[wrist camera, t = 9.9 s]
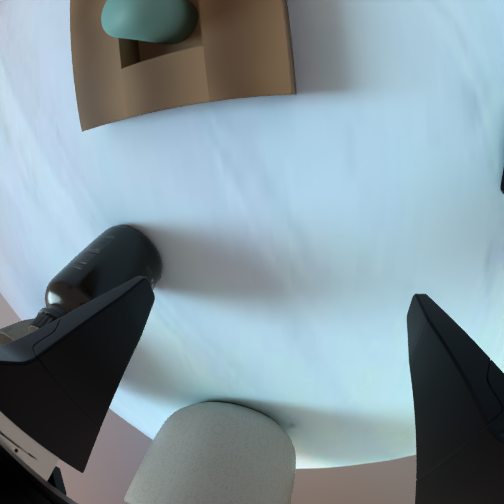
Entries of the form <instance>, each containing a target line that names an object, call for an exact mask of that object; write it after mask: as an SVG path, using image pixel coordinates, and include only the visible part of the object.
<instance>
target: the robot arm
mask: <svg viewBox="0 0 504 504" xmlns="http://www.w3.org/2000/svg"><path fill="white" fill-rule="evenodd" d="M501 192H502V193H503V194H504V169H503V176H502V182H501ZM154 299H155V296H154V292H153V290H152V287H151V284H150V281H149V279H148V278H147V277H140V276H138V277H135V278H133V279H131V280H129V281H127V282H126V283H124V284H122V285H120V286H118V287H116V288H114V289H112V290H110V291H108V292H106V293H105V294H103V295H101V296H99V297H97V298H95V299H93V300H91V301H90V302H88V303H86V304H84V305H82V306H80V307H78V308H77V309H75V310H73V311H71V312H69V313H67V314H66V315H64V316H62V317H60V318H58V319H56V320H55V321H53V322H51V323H49V324H47V325H45V326H43V327H41V328H39V329H37V330H35V331H33V332H31V333H29V334H27V335H25V336H23V337H21V338H19V339H17V340H15V341H13V342H10V343H8V344H3V345H0V504H77V503H76V502H74V501H73V500H72V499H70V498H68V497H67V496H66V490H65V487H64V483H63V479H62V475H61V471H60V468H58V467H57V466H56V464H57V462H58V461H59V459H61V460H62V461H64V462H66V463H67V464H69V465H70V466H72V467H73V468H75V469H76V470H78V471H80V472H81V473H83V472H84V470H85V467H86V465H87V462H88V459H89V456H90V454H91V451H92V448H93V446H94V443H95V441H96V438H97V436H98V433H99V431H100V427H101V425H102V423H103V420H104V418H105V416H106V413H107V411H108V409H109V406H110V404H111V401H112V399H113V397H114V394H115V392H116V390H117V388H118V385H119V383H120V381H121V379H122V376H123V374H124V372H125V370H126V367H127V365H128V363H129V361H130V359H131V357H132V354H133V352H134V350H135V348H136V346H137V344H138V342H139V340H140V337H141V335H142V333H143V330H144V327H145V325H146V322H147V319H148V316H149V314H150V311H151V308H152V306H153V303H154ZM407 330H408V349H409V365H410V373H411V381H412V390H413V400H414V411H415V426H416V452H417V474H416V479H417V480H416V497H415V504H504V373H503V372H502V371H501V370H500V369H499V368H498V367H497V366H496V364H495V363H494V362H493V361H492V360H490V358H489V357H488V356H487V355H486V353H485V352H484V351H483V350H482V349H481V348H480V347H479V346H478V345H477V344H476V343H475V342H474V341H473V340H472V339H471V338H470V337H469V335H468V334H467V333H466V332H465V331H464V330H463V329H462V328H461V327H460V326H459V325H458V324H457V323H456V322H455V321H454V320H453V319H452V318H451V317H450V316H449V315H448V314H447V313H446V312H445V311H443V310H442V309H441V308H440V307H439V306H438V305H437V304H436V303H435V302H434V301H433V300H432V299H431V298H430V297H429V296H428V295H426V294H415V295H414V296H413V298H412V301H411V304H410V307H409V310H408V314H407Z"/></svg>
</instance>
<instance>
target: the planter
mask: <svg viewBox="0 0 504 504" xmlns="http://www.w3.org/2000/svg"><path fill="white" fill-rule="evenodd" d="M295 470H296V454H295V449H294V445H293V443H292V441H291V439H290V437H289V436H288V434H287V433H286V432H285V431H284V430H283V429H282V428H281V427H280V426H279V425H278V424H277V423H276V422H275V421H273V420H272V419H270V418H269V417H267V416H265V415H264V414H262V413H260V412H257V411H255V410H252V409H249V408H246V407H243V406H239V405H235V404H230V403H224V402H202V403H197V404H192V405H189V406H186V407H183V408H181V409H179V410H177V411H176V412H174V413H173V414H172V415H171V416H170V417H169V418H168V419H167V420H166V421H165V422H164V424H163V425H162V427H161V428H160V430H159V431H158V433H157V435H156V436H155V438H154V440H153V442H152V444H151V446H150V447H149V449H148V451H147V453H146V455H145V457H144V459H143V461H142V463H141V465H140V468H139V469H138V471H137V473H136V476H135V477H134V479H133V481H132V483H131V485H130V487H129V489H128V491H127V494H126V496H125V498H124V501H125V502H127V503H129V504H290V503H291V498H292V493H293V486H294V479H295Z"/></svg>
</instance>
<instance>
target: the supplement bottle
mask: <svg viewBox="0 0 504 504" xmlns="http://www.w3.org/2000/svg"><path fill="white" fill-rule="evenodd" d="M161 273H162V265H161V260H160V257H159V254H158V252H157V250H156V248H155V247H154V245H153V244H152V243H151V241H150V240H149V239H148V238H147V237H146V236H145V235H143V234H142V233H141V232H139V231H138V230H136V229H134V228H131V227H128V226H113V227H111V228H109V229H107V230H106V231H104V232H103V233H102V234H101V235H100V236H98V237H97V238H96V239H95V240H94V241H93V242H92V243H90V244H89V245H88V246H87V247H86V248H85V249H84V250H83V251H82V252H80V253H79V254H78V255H77V256H76V257H75V258H74V259H73V260H72V261H71V262H70V263H69V264H68V265H67V266H65V267H64V268H63V269H62V270H61V271H60V272H59V273H58V274H57V275H56V276H55V277H54V278H53V279H52V280H51V282H50V283H49V284H48V286H47V289H46V293H45V302H46V307H47V308H42V309H41V310H40V311H39V313H38V315H37V317H36V318H35V319H34V320H33V321H32V322H31V324H30V325H29V327H28V330H29V333H31V332H33V331H35V330H37V329H39V328H41V327H43V326H45V325H47V324H49V323H51V322H53V321H55V320H56V319H58V318H60V317H62V316H64V315H66V314H67V313H69V312H71V311H73V310H75V309H77V308H78V307H80V306H82V305H84V304H86V303H88V302H90V301H91V300H93V299H95V298H97V297H99V296H101V295H103V294H105V293H106V292H108V291H110V290H112V289H114V288H116V287H118V286H120V285H122V284H124V283H126V282H127V281H129V280H131V279H133V278H135V277H138V276H140V277H147V278H148V279H149V281H150V284H151V287H152V290H153V289H154V287H155V286H156V284H157V283H158V281H159V279H160V277H161Z"/></svg>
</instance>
